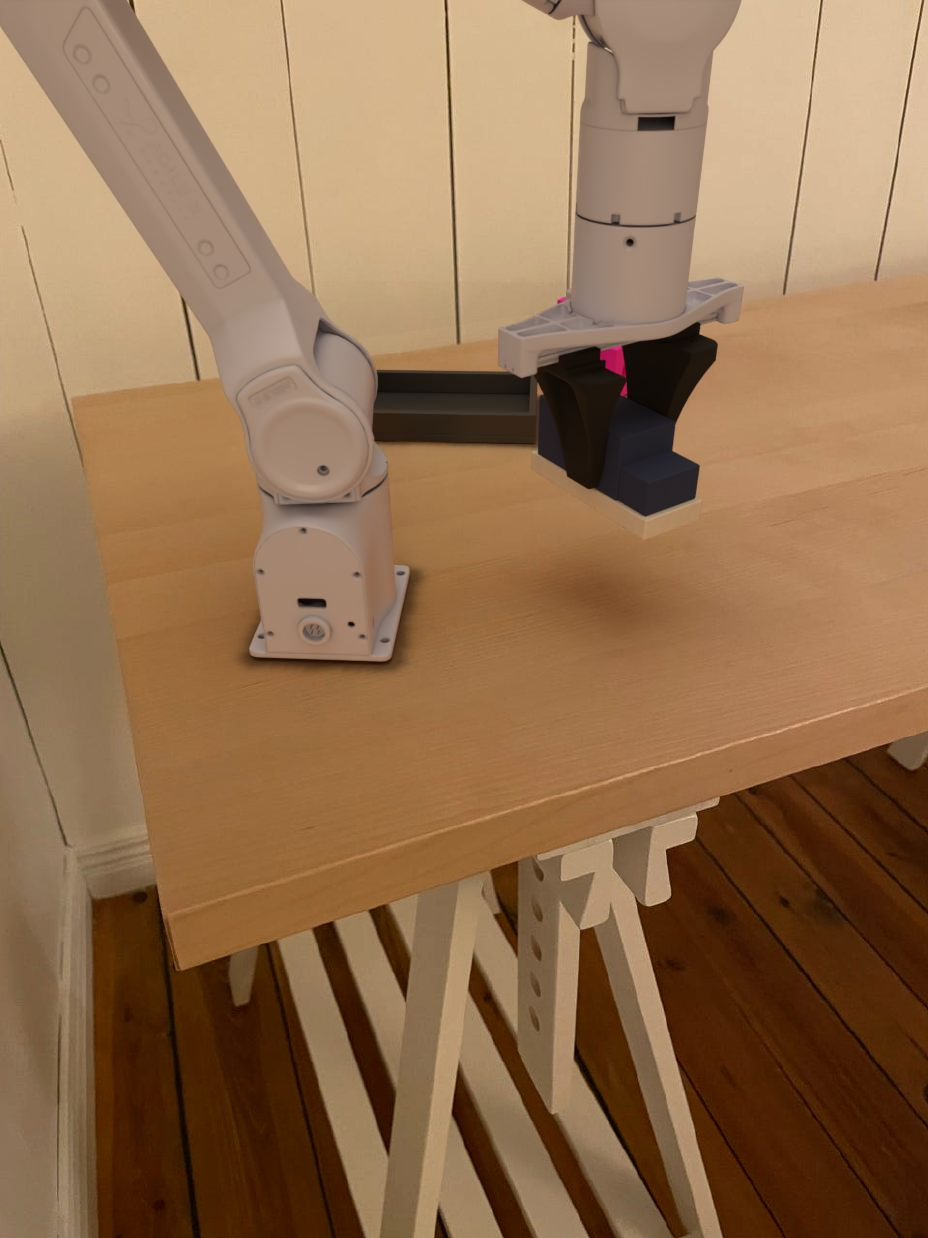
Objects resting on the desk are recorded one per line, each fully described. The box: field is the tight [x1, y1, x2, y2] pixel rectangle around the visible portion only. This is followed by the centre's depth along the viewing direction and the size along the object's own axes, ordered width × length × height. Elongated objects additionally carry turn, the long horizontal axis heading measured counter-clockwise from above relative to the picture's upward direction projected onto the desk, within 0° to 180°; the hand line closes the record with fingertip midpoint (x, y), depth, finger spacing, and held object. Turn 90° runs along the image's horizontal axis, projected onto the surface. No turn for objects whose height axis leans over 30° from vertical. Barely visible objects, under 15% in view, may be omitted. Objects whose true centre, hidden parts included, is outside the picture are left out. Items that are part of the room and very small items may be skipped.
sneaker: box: [530, 393, 703, 541], centre depth 54 cm, size 10×4×5 cm, turn 33°
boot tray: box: [372, 369, 538, 445], centre depth 80 cm, size 9×15×2 cm, turn 86°
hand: (613, 470), depth 54 cm, fingers closed on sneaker, 4 cm apart
